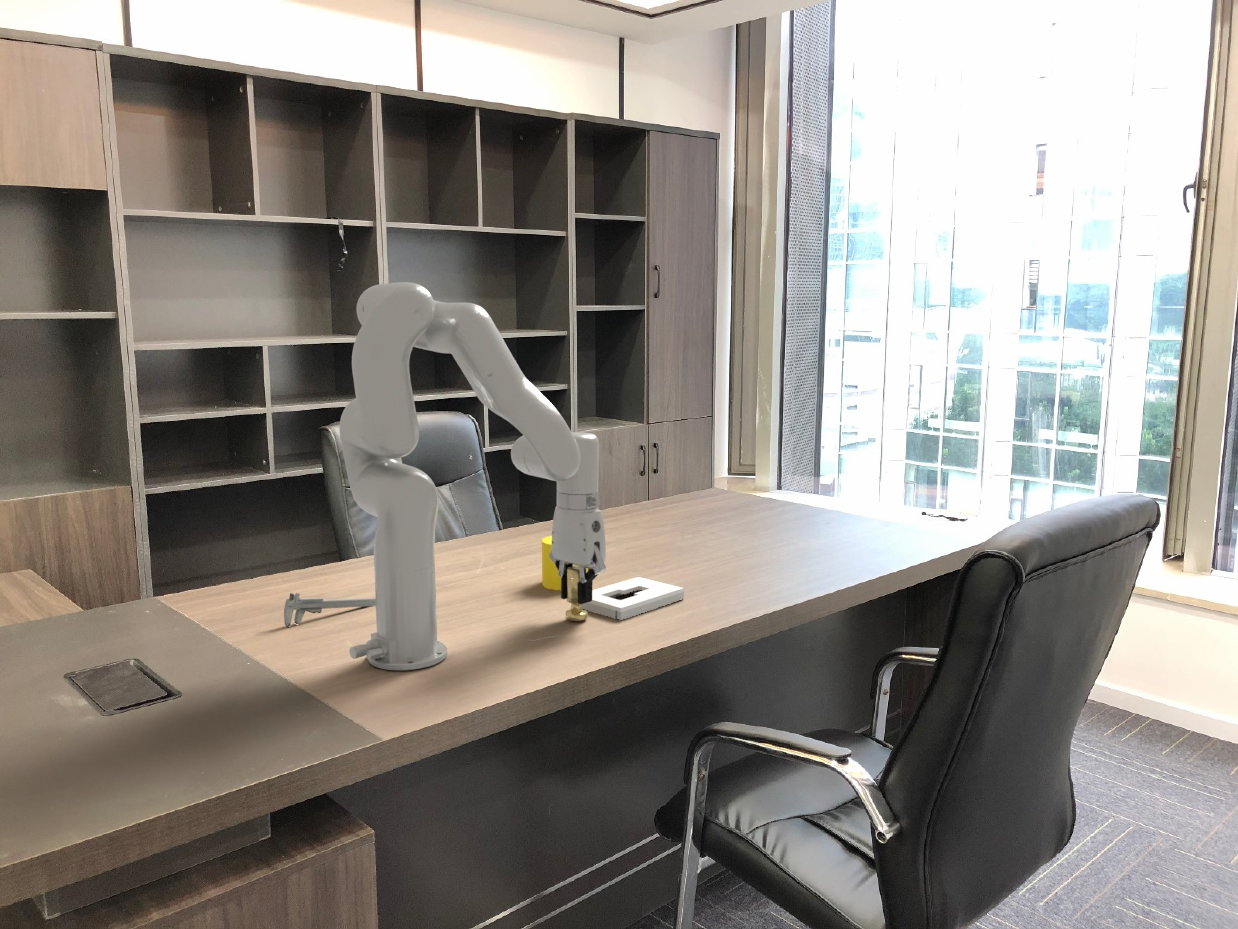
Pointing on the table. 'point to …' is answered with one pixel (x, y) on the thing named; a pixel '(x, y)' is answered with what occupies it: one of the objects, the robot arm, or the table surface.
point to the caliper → (318, 606)
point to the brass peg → (574, 595)
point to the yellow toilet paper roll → (549, 567)
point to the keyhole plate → (632, 598)
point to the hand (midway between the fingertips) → (576, 599)
